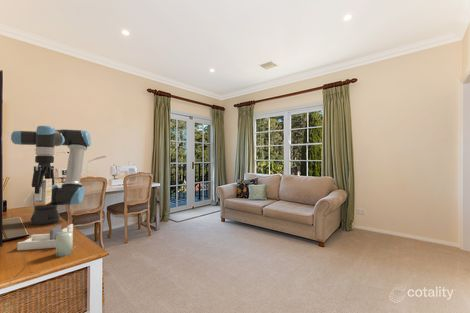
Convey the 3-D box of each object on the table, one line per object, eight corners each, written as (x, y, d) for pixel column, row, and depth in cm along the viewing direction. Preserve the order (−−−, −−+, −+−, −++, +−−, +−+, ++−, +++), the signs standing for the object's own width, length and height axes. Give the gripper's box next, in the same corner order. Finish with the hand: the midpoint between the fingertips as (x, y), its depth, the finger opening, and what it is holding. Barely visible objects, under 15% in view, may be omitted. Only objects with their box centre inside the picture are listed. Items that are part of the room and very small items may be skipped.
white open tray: (31, 241, 114) (32, 225, 114) (72, 238, 119) (73, 223, 119) (17, 250, 104) (17, 232, 104) (62, 247, 108) (63, 230, 108)
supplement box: (40, 203, 120) (41, 178, 121) (51, 202, 122) (52, 178, 123) (33, 205, 113) (34, 179, 113) (45, 205, 115) (46, 179, 115)
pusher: (58, 238, 116) (58, 224, 116) (71, 237, 118) (71, 224, 118) (49, 244, 108) (49, 230, 108) (64, 243, 110) (64, 229, 110)
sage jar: (59, 251, 103) (60, 232, 103) (74, 250, 105) (75, 231, 105) (52, 257, 98) (53, 236, 98) (68, 256, 99) (69, 235, 99)
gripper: (47, 155, 128) (46, 195, 127) (22, 154, 107) (20, 202, 106) (63, 156, 130) (61, 195, 129) (41, 154, 109) (39, 201, 108)
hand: (43, 198), depth 118 cm, fingers closed on supplement box, 9 cm apart
